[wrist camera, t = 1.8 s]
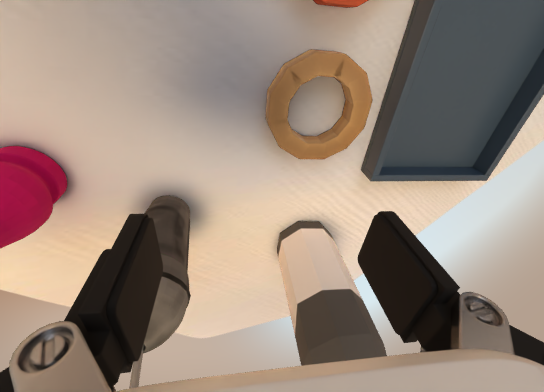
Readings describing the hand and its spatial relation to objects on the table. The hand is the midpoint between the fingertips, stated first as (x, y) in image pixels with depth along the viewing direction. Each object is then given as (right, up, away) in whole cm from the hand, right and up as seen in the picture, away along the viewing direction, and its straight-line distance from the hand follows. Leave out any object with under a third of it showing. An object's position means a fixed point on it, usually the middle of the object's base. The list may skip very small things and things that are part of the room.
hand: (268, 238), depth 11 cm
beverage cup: (-12, 0, +19) cm, 23 cm away
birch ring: (+4, +11, +15) cm, 19 cm away
